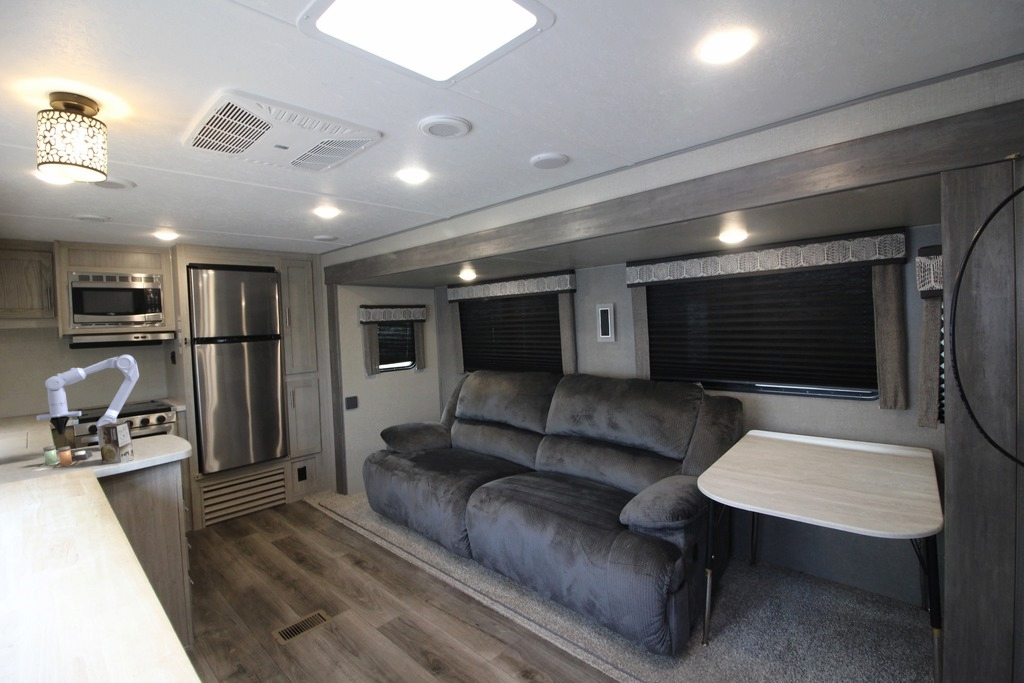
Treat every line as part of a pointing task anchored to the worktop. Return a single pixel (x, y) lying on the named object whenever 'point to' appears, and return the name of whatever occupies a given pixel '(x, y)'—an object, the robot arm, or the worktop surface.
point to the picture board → (75, 461)
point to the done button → (79, 452)
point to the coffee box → (115, 442)
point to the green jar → (50, 455)
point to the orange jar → (65, 455)
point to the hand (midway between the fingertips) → (61, 434)
